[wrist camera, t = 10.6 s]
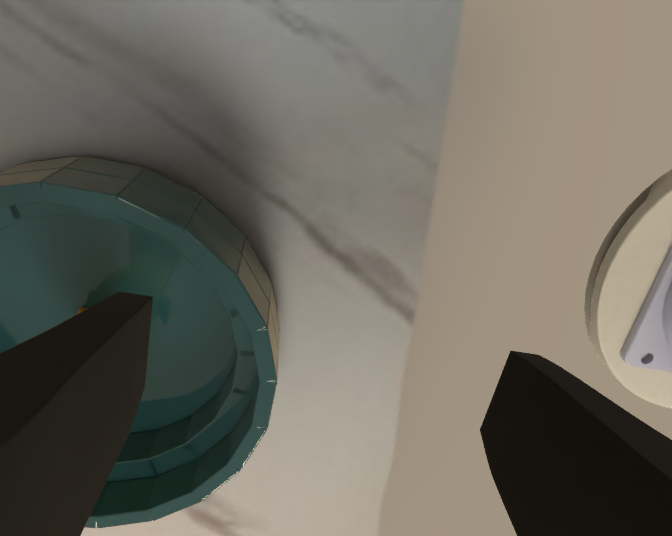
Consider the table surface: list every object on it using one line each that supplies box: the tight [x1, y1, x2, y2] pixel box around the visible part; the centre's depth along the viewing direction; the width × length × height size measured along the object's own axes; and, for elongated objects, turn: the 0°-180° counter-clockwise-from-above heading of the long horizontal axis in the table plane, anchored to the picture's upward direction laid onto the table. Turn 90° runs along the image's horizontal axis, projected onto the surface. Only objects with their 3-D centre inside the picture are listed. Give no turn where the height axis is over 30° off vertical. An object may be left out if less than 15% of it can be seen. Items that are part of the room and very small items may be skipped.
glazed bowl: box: [0, 156, 280, 528], centre depth 20 cm, size 13×13×4 cm
